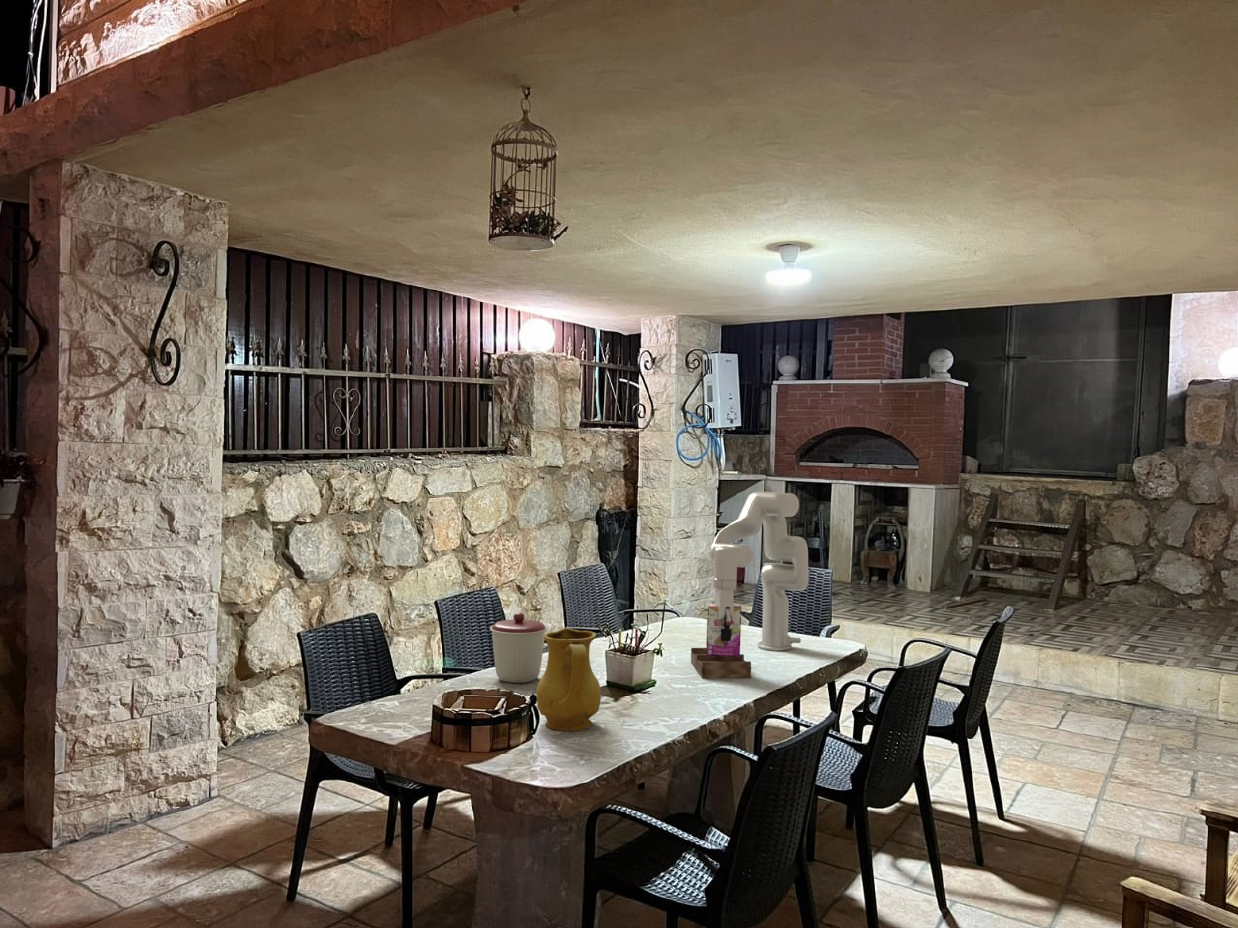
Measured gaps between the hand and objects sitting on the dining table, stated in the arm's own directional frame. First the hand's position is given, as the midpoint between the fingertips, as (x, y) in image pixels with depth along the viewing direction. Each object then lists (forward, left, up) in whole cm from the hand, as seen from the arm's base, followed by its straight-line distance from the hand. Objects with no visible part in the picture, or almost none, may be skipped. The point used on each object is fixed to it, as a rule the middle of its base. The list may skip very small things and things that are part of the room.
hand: (723, 638), depth 291 cm
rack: (0, -5, -12) cm, 13 cm away
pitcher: (+53, +53, -12) cm, 76 cm away
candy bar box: (0, 0, -6) cm, 6 cm away
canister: (+67, +6, -12) cm, 68 cm away
